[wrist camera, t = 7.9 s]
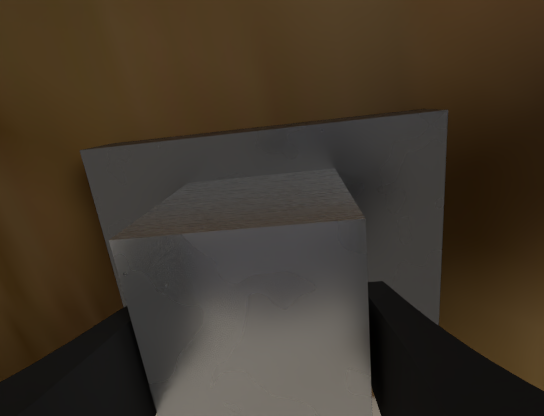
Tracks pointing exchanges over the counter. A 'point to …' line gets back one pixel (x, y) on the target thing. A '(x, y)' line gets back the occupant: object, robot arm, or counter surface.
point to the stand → (299, 158)
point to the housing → (252, 297)
